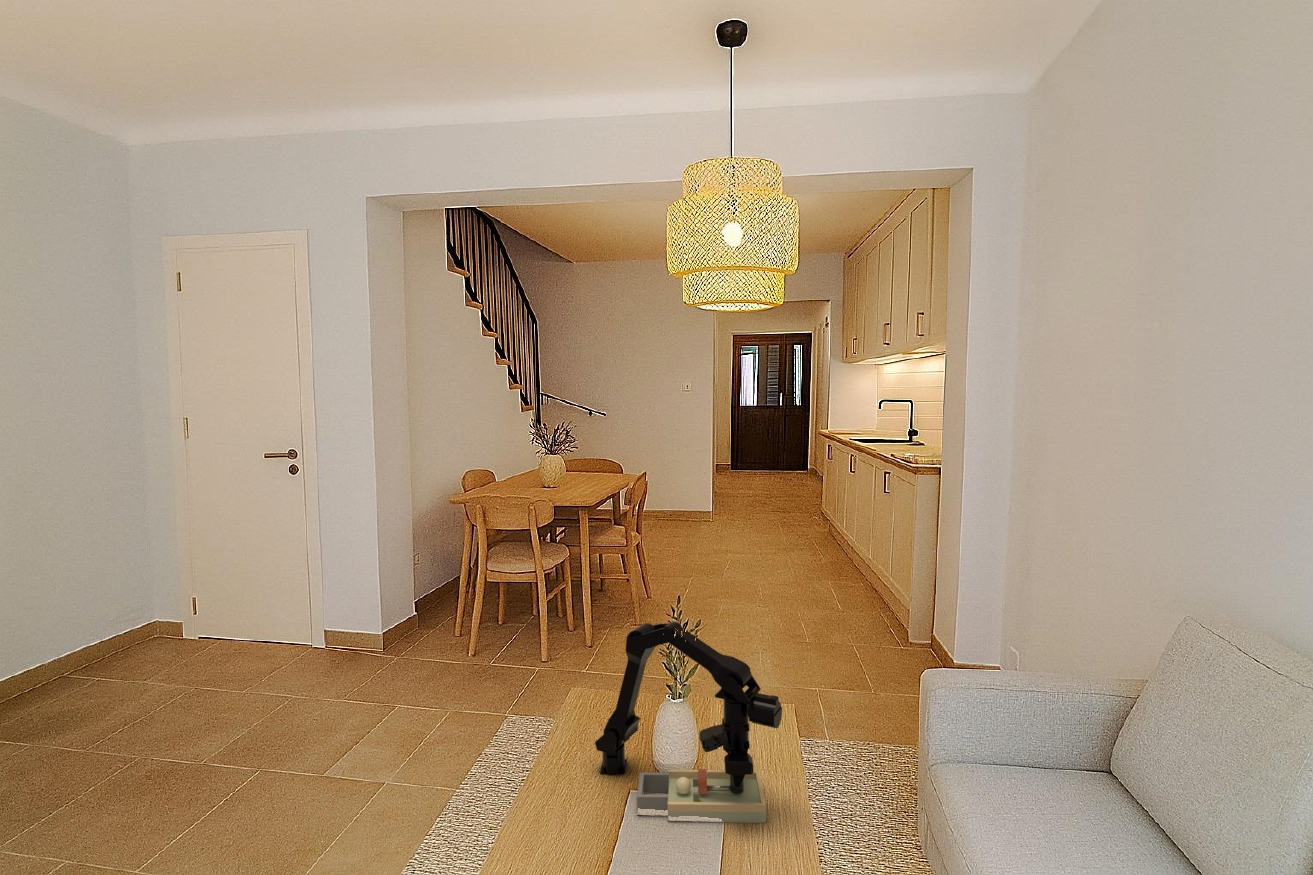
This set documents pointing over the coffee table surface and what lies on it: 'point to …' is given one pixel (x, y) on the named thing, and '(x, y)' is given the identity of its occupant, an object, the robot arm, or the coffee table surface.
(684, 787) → the ball
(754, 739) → the coffee table surface
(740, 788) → the kicker
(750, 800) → the tray
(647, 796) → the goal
